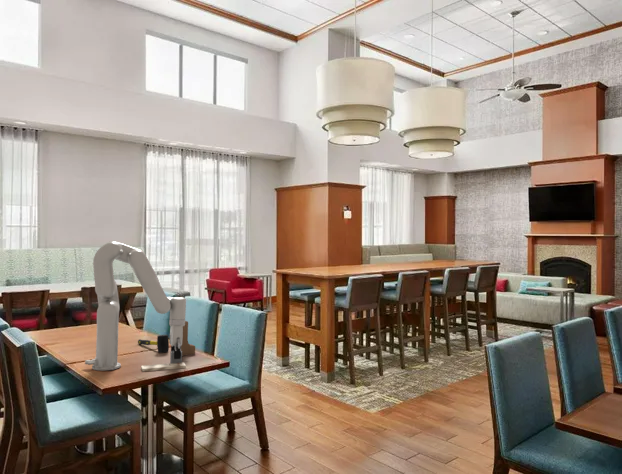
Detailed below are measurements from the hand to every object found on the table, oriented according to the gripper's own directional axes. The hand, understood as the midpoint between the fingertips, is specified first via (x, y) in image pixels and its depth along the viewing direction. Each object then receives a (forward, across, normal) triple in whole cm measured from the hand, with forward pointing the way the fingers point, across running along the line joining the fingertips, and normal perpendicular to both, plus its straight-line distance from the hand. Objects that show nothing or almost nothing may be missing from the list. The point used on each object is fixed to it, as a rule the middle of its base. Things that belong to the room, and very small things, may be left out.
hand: (175, 356), depth 242 cm
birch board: (+4, +6, -6) cm, 10 cm away
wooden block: (+4, -18, +8) cm, 20 cm away
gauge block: (+4, 0, 0) cm, 4 cm away
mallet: (+4, -38, -7) cm, 38 cm away
